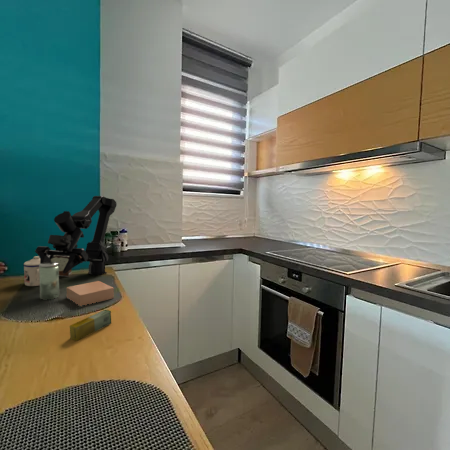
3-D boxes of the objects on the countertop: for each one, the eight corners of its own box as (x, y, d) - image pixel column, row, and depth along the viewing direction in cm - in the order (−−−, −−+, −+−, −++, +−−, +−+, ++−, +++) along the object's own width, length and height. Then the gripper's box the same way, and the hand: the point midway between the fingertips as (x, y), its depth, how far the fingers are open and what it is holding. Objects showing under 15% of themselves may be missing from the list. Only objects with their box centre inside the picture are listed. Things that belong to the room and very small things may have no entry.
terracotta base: (98, 290, 111) (98, 280, 111) (113, 298, 103) (113, 287, 103) (66, 297, 102) (66, 287, 101) (80, 306, 94) (80, 295, 94)
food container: (80, 273, 134) (79, 253, 134) (71, 276, 128) (71, 255, 127) (56, 271, 136) (56, 251, 135) (47, 275, 129) (46, 254, 129)
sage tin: (56, 293, 106) (55, 260, 105) (62, 297, 102) (61, 263, 101) (37, 296, 102) (36, 263, 100) (42, 301, 98) (42, 266, 96)
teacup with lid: (23, 282, 118) (22, 255, 117) (48, 279, 123) (47, 253, 122) (25, 289, 108) (24, 260, 107) (52, 286, 114) (51, 258, 113)
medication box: (105, 321, 84) (105, 309, 84) (112, 323, 83) (111, 310, 82) (69, 339, 73) (68, 325, 73) (76, 341, 72) (76, 327, 71)
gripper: (38, 225, 107) (15, 259, 97) (84, 227, 106) (65, 262, 96) (52, 242, 116) (32, 275, 105) (95, 245, 114) (79, 278, 104)
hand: (51, 272), depth 102 cm, fingers open, 9 cm apart
